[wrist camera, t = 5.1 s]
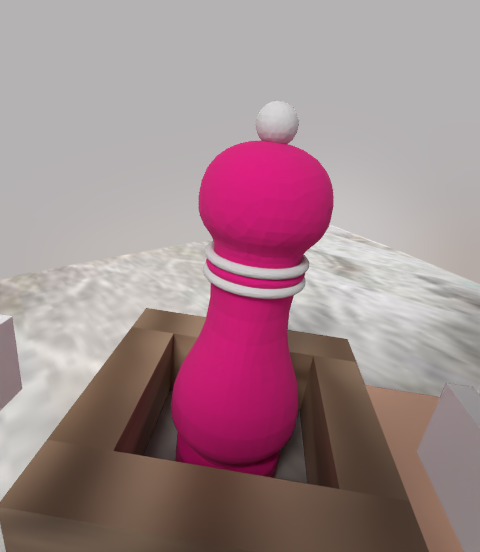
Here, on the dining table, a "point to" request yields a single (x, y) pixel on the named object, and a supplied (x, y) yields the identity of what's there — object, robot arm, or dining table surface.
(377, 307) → the dining table surface
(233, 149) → the pepper mill
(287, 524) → the walnut holder
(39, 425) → the dining table surface
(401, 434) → the terracotta tile
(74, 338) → the dining table surface
